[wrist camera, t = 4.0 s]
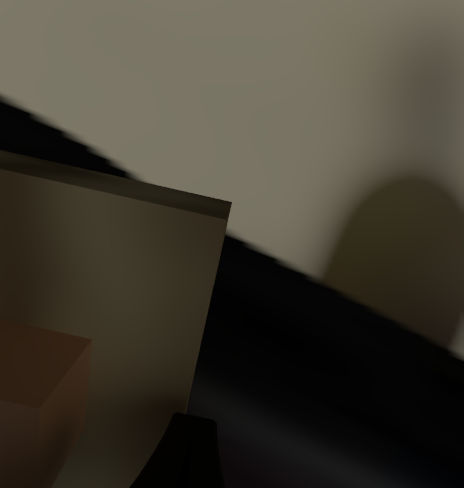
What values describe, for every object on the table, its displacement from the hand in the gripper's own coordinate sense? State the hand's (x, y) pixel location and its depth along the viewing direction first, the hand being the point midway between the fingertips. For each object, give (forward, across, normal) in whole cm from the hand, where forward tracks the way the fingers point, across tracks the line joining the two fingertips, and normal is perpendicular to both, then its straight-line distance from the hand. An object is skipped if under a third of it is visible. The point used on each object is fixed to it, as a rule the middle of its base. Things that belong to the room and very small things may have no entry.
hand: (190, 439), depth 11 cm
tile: (+1, +6, 0) cm, 6 cm away
